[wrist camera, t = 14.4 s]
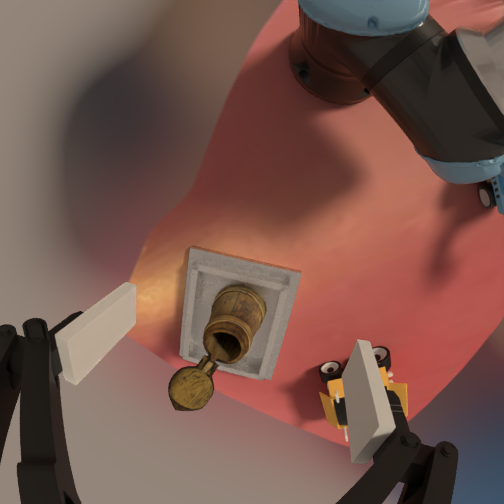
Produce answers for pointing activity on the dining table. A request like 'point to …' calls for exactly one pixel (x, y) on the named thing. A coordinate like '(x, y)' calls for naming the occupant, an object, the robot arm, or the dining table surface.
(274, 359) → the mug bay
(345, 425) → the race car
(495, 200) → the toy excavator
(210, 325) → the wooden mug
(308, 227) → the dining table surface
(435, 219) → the dining table surface
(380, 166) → the dining table surface
